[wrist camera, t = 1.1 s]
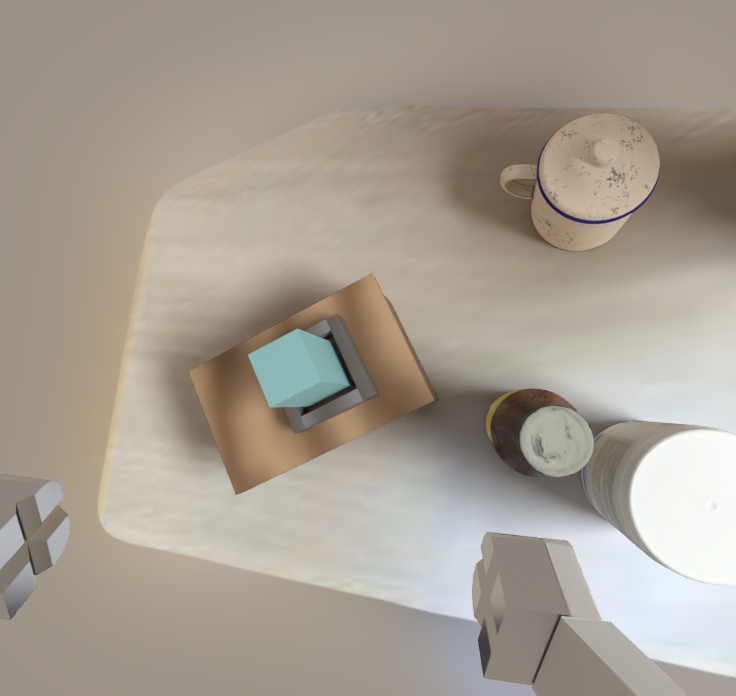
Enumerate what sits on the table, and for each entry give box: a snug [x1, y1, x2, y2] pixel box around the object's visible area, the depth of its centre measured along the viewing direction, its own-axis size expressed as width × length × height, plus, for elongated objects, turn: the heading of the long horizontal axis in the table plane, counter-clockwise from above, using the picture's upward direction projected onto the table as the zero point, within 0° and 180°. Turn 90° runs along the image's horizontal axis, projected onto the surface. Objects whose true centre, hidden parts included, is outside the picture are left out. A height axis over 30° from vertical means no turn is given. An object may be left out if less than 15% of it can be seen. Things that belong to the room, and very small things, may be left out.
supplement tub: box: [581, 421, 736, 585], centre depth 37 cm, size 10×10×15 cm
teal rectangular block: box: [248, 328, 354, 408], centre depth 37 cm, size 4×4×8 cm
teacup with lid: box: [500, 113, 660, 251], centre depth 42 cm, size 12×9×12 cm
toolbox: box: [189, 273, 438, 495], centre depth 45 cm, size 19×12×12 cm, turn 116°
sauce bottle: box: [485, 389, 594, 477], centre depth 37 cm, size 6×6×20 cm
